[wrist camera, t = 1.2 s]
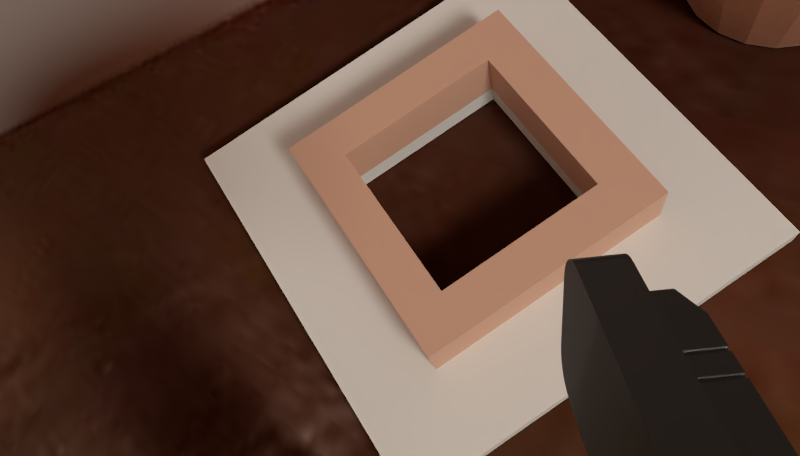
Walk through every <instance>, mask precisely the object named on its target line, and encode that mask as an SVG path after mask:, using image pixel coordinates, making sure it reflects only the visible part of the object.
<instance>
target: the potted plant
mask: <svg viewBox="0 0 800 456" xmlns="http://www.w3.org/2000/svg"><path fill="white" fill-rule="evenodd" d="M687 2H688V3H689V5H690V6H691V8H692V10H693V11H694V13H695V14H696V16H697V17H698V18H700V19H701V20H702V21H704V22H705V23H706V24H707V25H709V26H710V27H711V28H712V29H714V30H715V31H716V32H717V33H720V34H722V35H724V36H727V37H729V38H732V39H734V40H737V41H739V42H742V43H744V44H750V45H757V46H764V47H772V48H781V47H790V46H799V45H800V0H687Z"/></svg>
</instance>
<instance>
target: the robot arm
mask: <svg viewBox="0 0 800 456" xmlns="http://www.w3.org/2000/svg"><path fill="white" fill-rule="evenodd" d="M561 360H562V370H563V376H564V382H565V386H566V390H567V394H568V397H569V400H570V403H571V406H572V409H573V412H574V415H575V418H576V421H577V424H578V427H579V430H580V433H581V436H582V439H583V442H584V445H585V448H586V451H587V454H588V456H798V455H797V453H796V452H795V450H794V449H793V447H792V445H791V444H790V442H789V441H788V439H787V437H786V436H785V434H784V433H783V431H782V430H781V428H780V426H779V425H778V423H777V422H776V420H775V419H774V417H773V415H772V414H771V412H770V411H769V409H768V408H767V406H766V404H765V403H764V401H763V400H762V398H761V397H760V395H759V393H758V392H757V390H756V389H755V387H754V386H753V384H752V382H751V381H750V379H749V378H748V379H746V378H745V374H744V372H745V371H744V370H743V368H742V367H741V365H740V364H739V362H738V360H737V359H736V357H735V356H734V354H733V353H732V351H728V345H727V343H726V342H725V340H724V338H723V337H722V335H721V334H720V332H719V331H718V329H717V327H716V326H715V324H714V323H713V321H712V320H711V318H710V316H709V315H708V313H706V312H705V311H704V310H702V309H701V308H700V307H698V306H697V305H696V304H694V303H693V302H692V301H690V300H689V299H688V298H686V297H685V296H684V295H682V294H681V293H680V292H678V291H677V290H676V289H664V290H654V291H649V289H648V287H647V285H646V284H645V282H644V280H643V278H642V276H641V275H640V273H639V271H638V269H637V267H636V266H635V264H634V262H633V260H632V259H631V257H630V256H629V255H628V254H614V255H605V256H595V257H585V258H575V259H568V260H567V262H566V265H565V271H564V290H563V313H562V335H561Z"/></svg>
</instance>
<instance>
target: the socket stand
mask: <svg viewBox="0 0 800 456" xmlns="http://www.w3.org/2000/svg"><path fill="white" fill-rule="evenodd" d="M493 99H494V100H495V102H496V103H497V104H498V105H499V106H500V107H501V109H502V110H503V111H504V112H505V113H506V114H507V116H508V117H509V118H510V119H511V120H512V121H513V122H514V124H515V125H516V126H517V127H518V128H519V129H520V131H521V132H522V133H523V134H524V135H525V136H526V138H527V139H528V140H529V141H530V142H531V143H532V145H533V146H534V147H535V148H536V149H537V150H538V152H539V153H540V154H541V155H542V156H543V157H544V159H545V160H546V161H547V162H548V163H549V164H550V165H551V167H552V168H553V169H554V170H555V171H556V172H557V174H558V175H559V176H560V177H561V178H562V179H563V181H564V182H565V183H566V184H567V185H568V186H569V188H570V189H571V190H572V191H573V192H574V193H575V195H576V196H577V197H578V198H577V199H575V200H574V201H572V202H571V203H570V204H568V205H567V206H565V207H564V208H562V209H561V210H559V211H558V212H556V213H555V214H554V215H552V216H551V217H549V218H548V219H546V220H545V221H543V222H542V223H540V224H539V225H537V226H536V227H535V228H533V229H532V230H530V231H529V232H527V233H526V234H524V235H523V236H521V237H520V238H518V239H517V240H516V241H514V242H513V243H511V244H510V245H508V246H507V247H505V248H504V249H502V250H501V251H499V252H498V253H497V254H495V255H494V256H492V257H491V258H489V259H488V260H486V261H485V262H483V263H482V264H480V265H479V266H478V267H476V268H475V269H473V270H472V271H470V272H469V273H467V274H466V275H464V276H463V277H461V278H460V279H459V280H457V281H456V282H454V283H453V284H451V285H450V286H448V287H447V288H445V289H444V290H442V291H441V290H440V288H439V287H438V285H437V284H436V283H435V281H434V280H433V278H432V277H431V276H430V274H429V273H428V271H427V270H426V269H425V267H424V266H423V264H422V263H421V261H420V260H419V259H418V257H417V256H416V254H415V253H414V252H413V250H412V249H411V247H410V246H409V244H408V243H407V242H406V240H405V239H404V237H403V236H402V235H401V233H400V232H399V230H398V229H397V228H396V226H395V225H394V223H393V222H392V220H391V219H390V218H389V216H388V215H387V213H386V212H385V211H384V209H383V208H382V206H381V205H380V203H379V202H378V201H377V199H376V198H375V196H374V195H373V194H372V192H371V191H370V189H369V188H368V187H367V185H366V184H367V183H369V182H370V181H372V180H373V179H375V178H376V177H378V176H379V175H381V174H382V173H384V172H385V171H387V170H388V169H390V168H391V167H393V166H394V165H396V164H397V163H399V162H400V161H402V160H403V159H405V158H406V157H408V156H409V155H411V154H412V153H414V152H415V151H417V150H418V149H420V148H421V147H422V146H424V145H425V144H427V143H428V142H430V141H431V140H433V139H434V138H436V137H437V136H439V135H440V134H442V133H443V132H445V131H446V130H448V129H449V128H451V127H452V126H454V125H455V124H457V123H458V122H460V121H461V120H463V119H464V118H466V117H467V116H469V115H470V114H472V113H473V112H475V111H476V110H478V109H479V108H481V107H482V106H484V105H485V104H487V103H488V102H490V101H491V100H493ZM204 160H205V162H206V163H207V165H208V167H209V168H210V170H211V172H212V173H213V175H214V177H215V178H216V180H217V182H218V183H219V185H220V187H221V188H222V190H223V192H224V194H225V195H226V197H227V199H228V200H229V202H230V204H231V205H232V207H233V209H234V210H235V212H236V214H237V215H238V217H239V219H240V220H241V222H242V224H243V225H244V227H245V229H246V230H247V232H248V234H249V236H250V237H251V239H252V241H253V242H254V244H255V246H256V247H257V249H258V251H259V252H260V254H261V256H262V257H263V259H264V261H265V262H266V264H267V266H268V267H269V269H270V271H271V272H272V274H273V276H274V278H275V279H276V281H277V283H278V284H279V286H280V288H281V289H282V291H283V293H284V294H285V296H286V298H287V299H288V301H289V303H290V304H291V306H292V308H293V309H294V311H295V313H296V314H297V316H298V318H299V320H300V321H301V323H302V325H303V326H304V328H305V330H306V331H307V333H308V335H309V336H310V338H311V340H312V341H313V343H314V345H315V346H316V348H317V350H318V351H319V353H320V355H321V356H322V358H323V360H324V362H325V363H326V365H327V367H328V368H329V370H330V372H331V373H332V375H333V377H334V378H335V380H336V382H337V383H338V385H339V387H340V388H341V390H342V392H343V393H344V395H345V397H346V398H347V400H348V402H349V404H350V405H351V407H352V409H353V410H354V412H355V414H356V415H357V417H358V419H359V420H360V422H361V424H362V425H363V427H364V429H365V430H366V432H367V434H368V435H369V437H370V439H371V440H372V442H373V444H374V446H375V447H376V449H377V451H378V452H379V454H380V456H485V455H487V454H488V453H490V452H491V451H492V450H494V449H495V448H497V447H498V446H500V445H501V444H502V443H504V442H505V441H507V440H508V439H510V438H511V437H512V436H514V435H515V434H517V433H518V432H520V431H521V430H522V429H524V428H525V427H527V426H528V425H530V424H531V423H532V422H534V421H535V420H537V419H538V418H540V417H541V416H542V415H544V414H545V413H547V412H548V411H550V410H551V409H552V408H554V407H555V406H557V405H558V404H560V403H561V402H562V401H564V400H565V399H567V398H568V394H567V390H566V386H565V382H564V376H563V370H562V360H561V335H562V313H563V290H564V271H565V265H566V262H567V260H568V259H575V258H585V257H595V256H605V255H614V254H628V255H629V256H630V257H631V259H632V260H633V262H634V264H635V266H636V267H637V269H638V271H639V273H640V275H641V276H642V278H643V280H644V282H645V284H646V285H647V287H648V289H649V291H654V290H664V289H676V290H677V291H678V292H680V293H681V294H682V295H684V296H685V297H686V298H688V299H689V300H690V301H692V302H693V303H694V304H696V305H697V306H699V305H701V304H702V303H704V302H705V301H706V300H708V299H709V298H711V297H712V296H714V295H715V294H716V293H718V292H719V291H721V290H722V289H724V288H725V287H726V286H728V285H729V284H731V283H732V282H734V281H735V280H736V279H738V278H739V277H741V276H742V275H744V274H745V273H746V272H748V271H749V270H751V269H752V268H753V267H755V266H756V265H758V264H759V263H761V262H762V261H763V260H765V259H766V258H768V257H769V256H771V255H772V254H773V253H775V252H776V251H778V250H779V249H781V248H782V247H783V246H785V245H786V244H788V243H789V242H791V241H792V240H793V239H794V238H795V237H796V236H797V235H798V234H799V231H798V230H797V229H796V228H795V227H794V226H793V225H792V224H791V223H790V222H789V221H788V220H787V219H786V218H785V217H784V216H783V215H782V214H781V213H780V212H779V211H778V210H777V209H776V208H775V207H774V206H773V205H772V204H771V203H770V202H769V201H768V200H767V199H766V198H765V197H764V196H763V195H762V194H761V193H760V192H759V191H758V190H757V189H756V188H755V187H754V186H753V185H752V184H751V183H750V182H749V181H748V180H747V179H746V178H745V177H744V176H743V175H742V174H741V173H740V172H739V171H738V170H737V169H736V168H735V167H734V166H733V165H732V164H731V163H730V162H729V161H728V160H727V159H726V158H725V157H724V156H723V155H722V154H721V153H720V152H719V151H718V150H717V149H716V148H715V147H714V146H713V145H712V144H711V143H710V142H709V141H708V140H707V139H706V138H705V137H704V136H703V135H702V134H701V133H700V132H699V131H698V130H697V129H696V128H695V127H694V126H693V125H692V124H691V123H690V122H689V121H688V120H687V119H686V118H685V117H684V116H683V115H682V114H681V113H680V112H679V111H678V110H677V109H676V108H675V107H674V106H673V105H672V104H671V103H670V102H669V101H668V100H667V99H666V98H665V97H664V96H663V95H662V94H661V93H660V92H659V91H658V90H657V89H656V88H655V87H654V86H653V85H652V84H651V83H650V82H649V81H648V80H647V79H646V78H645V77H644V76H643V75H642V74H641V73H640V72H639V71H638V70H637V69H636V68H635V67H634V66H633V65H632V64H631V63H630V62H629V61H628V60H627V59H626V58H625V57H624V56H623V55H622V54H621V53H620V52H619V51H618V50H617V49H616V48H615V47H614V46H613V45H612V44H611V43H610V42H609V41H608V40H607V39H606V38H605V37H604V36H603V35H602V34H601V33H600V32H599V31H598V30H597V29H596V28H595V27H594V26H593V25H592V24H591V23H590V22H589V21H588V20H587V19H586V18H585V17H584V16H583V15H582V14H581V13H580V12H579V11H578V10H577V9H576V8H575V7H574V6H573V5H572V4H571V3H570V2H569V1H568V0H445V1H443V2H442V3H440V4H438V5H437V6H435V7H434V8H432V9H431V10H429V11H428V12H426V13H425V14H423V15H422V16H420V17H419V18H417V19H416V20H414V21H413V22H411V23H410V24H408V25H407V26H405V27H404V28H402V29H401V30H399V31H398V32H396V33H395V34H393V35H392V36H390V37H389V38H387V39H385V40H384V41H382V42H381V43H379V44H378V45H376V46H375V47H373V48H372V49H370V50H369V51H367V52H366V53H364V54H363V55H361V56H360V57H358V58H357V59H355V60H354V61H352V62H351V63H349V64H348V65H346V66H345V67H343V68H342V69H340V70H339V71H337V72H335V73H334V74H332V75H331V76H329V77H328V78H326V79H325V80H323V81H322V82H320V83H319V84H317V85H316V86H314V87H313V88H311V89H310V90H308V91H307V92H305V93H304V94H302V95H301V96H299V97H298V98H296V99H295V100H293V101H292V102H290V103H289V104H287V105H285V106H284V107H282V108H281V109H279V110H278V111H276V112H275V113H273V114H272V115H270V116H269V117H267V118H266V119H264V120H263V121H261V122H260V123H258V124H257V125H255V126H254V127H252V128H251V129H249V130H248V131H246V132H245V133H243V134H242V135H240V136H239V137H237V138H235V139H234V140H232V141H231V142H229V143H228V144H226V145H225V146H223V147H222V148H220V149H219V150H217V151H216V152H214V153H213V154H211V155H210V156H208V157H207V158H205V159H204Z"/></svg>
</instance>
